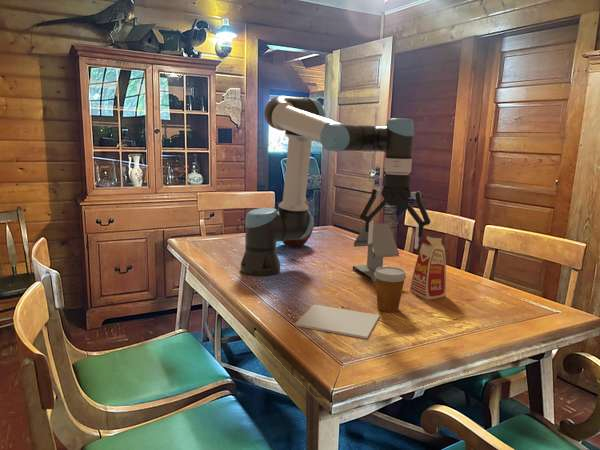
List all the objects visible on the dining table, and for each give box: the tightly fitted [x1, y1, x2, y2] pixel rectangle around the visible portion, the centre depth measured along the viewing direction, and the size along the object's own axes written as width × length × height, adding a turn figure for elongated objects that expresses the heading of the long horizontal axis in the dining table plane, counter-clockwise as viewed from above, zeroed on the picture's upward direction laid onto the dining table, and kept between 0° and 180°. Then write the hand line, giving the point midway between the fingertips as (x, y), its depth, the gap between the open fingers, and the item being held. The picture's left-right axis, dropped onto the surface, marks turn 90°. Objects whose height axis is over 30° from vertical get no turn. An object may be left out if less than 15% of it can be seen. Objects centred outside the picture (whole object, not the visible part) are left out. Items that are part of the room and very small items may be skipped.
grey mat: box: [294, 304, 380, 340], centre depth 129 cm, size 20×16×1 cm
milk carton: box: [409, 235, 447, 301], centre depth 153 cm, size 9×9×20 cm
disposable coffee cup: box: [374, 266, 407, 313], centre depth 139 cm, size 10×10×12 cm
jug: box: [281, 197, 315, 249], centre depth 214 cm, size 20×18×30 cm
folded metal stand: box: [352, 222, 400, 284], centre depth 172 cm, size 18×10×20 cm, turn 17°
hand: (392, 245), depth 136 cm, fingers open, 13 cm apart
